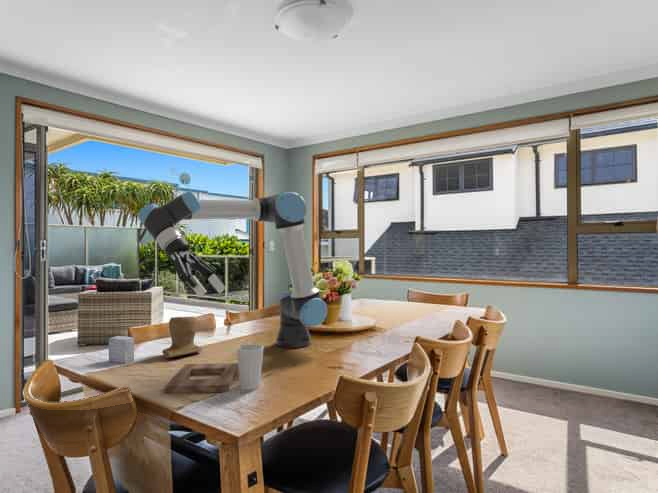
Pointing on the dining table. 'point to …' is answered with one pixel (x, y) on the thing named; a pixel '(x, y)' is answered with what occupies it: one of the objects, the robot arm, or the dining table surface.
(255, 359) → the cup
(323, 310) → the robot arm
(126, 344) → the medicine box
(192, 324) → the wooden stamp
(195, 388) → the board
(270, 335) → the dining table surface
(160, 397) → the dining table surface
